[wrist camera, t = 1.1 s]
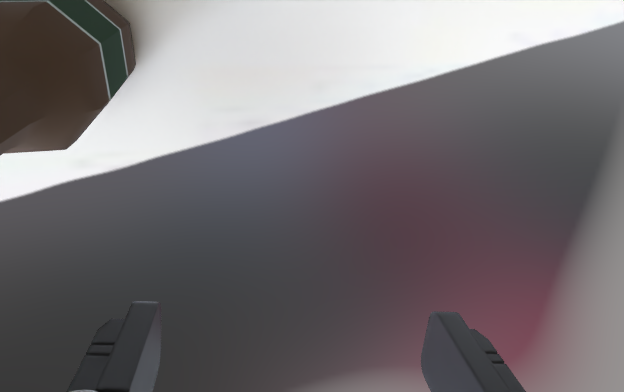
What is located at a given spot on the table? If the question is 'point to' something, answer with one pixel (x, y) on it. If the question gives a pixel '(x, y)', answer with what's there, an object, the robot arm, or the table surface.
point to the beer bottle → (58, 69)
